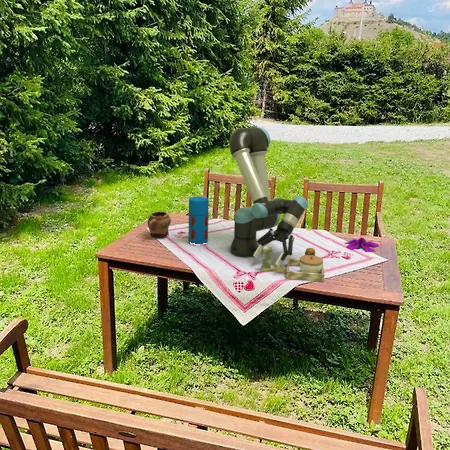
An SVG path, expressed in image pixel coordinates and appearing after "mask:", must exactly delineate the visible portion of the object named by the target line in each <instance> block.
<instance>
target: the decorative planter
mask: <svg viewBox="0 0 450 450" xmlns="http://www.w3.org/2000/svg"><path fill="white" fill-rule="evenodd" d="M171 223H172V218H171V217H170V215H169V213H168V212H167V211H154V212H151V213H150V215H149V218H148V220H147V226H148V230H149V233H150V236H151V237H152V238H153V237H154V239H164V238H163V237H165V238H167V237H168V236H169V228H170V225H171ZM167 235H168V236H167ZM166 236H167V237H166Z"/></svg>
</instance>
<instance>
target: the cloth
mask: <svg viewBox="0 0 450 450" xmlns="http://www.w3.org/2000/svg"><path fill="white" fill-rule="evenodd" d="M344 245H346V248H347V249H348V250H349V249H350V251H355V250H354V249H356V250H359V249H363V251H365V252H364V253H374V252H375V253H376V250H374V249H373V248H378V247H381V245H379V244H378V243H376V242H373V241H370V240H367V241H366V238H364V237H362V236H361V237H360V238H358V239H356V238H355V239H352V240H349V241H347V242H344Z"/></svg>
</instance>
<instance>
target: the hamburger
mask: <svg viewBox="0 0 450 450" xmlns="http://www.w3.org/2000/svg"><path fill="white" fill-rule="evenodd" d="M304 255H313V256H318V255H317V254H316V250H315V248H313V247H308V248H306V249H305V251H304V253H302V254H300V257H301V256H304Z"/></svg>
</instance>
